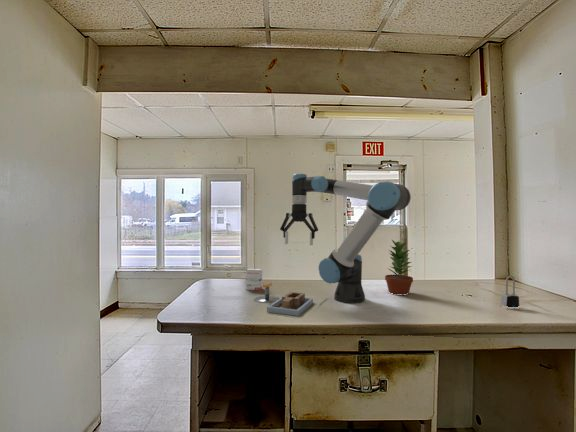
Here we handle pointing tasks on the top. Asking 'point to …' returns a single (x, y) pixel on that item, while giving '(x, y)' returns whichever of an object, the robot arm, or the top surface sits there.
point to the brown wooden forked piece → (293, 300)
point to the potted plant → (399, 271)
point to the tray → (275, 309)
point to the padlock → (510, 296)
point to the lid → (266, 295)
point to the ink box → (253, 279)
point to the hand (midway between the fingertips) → (298, 244)
